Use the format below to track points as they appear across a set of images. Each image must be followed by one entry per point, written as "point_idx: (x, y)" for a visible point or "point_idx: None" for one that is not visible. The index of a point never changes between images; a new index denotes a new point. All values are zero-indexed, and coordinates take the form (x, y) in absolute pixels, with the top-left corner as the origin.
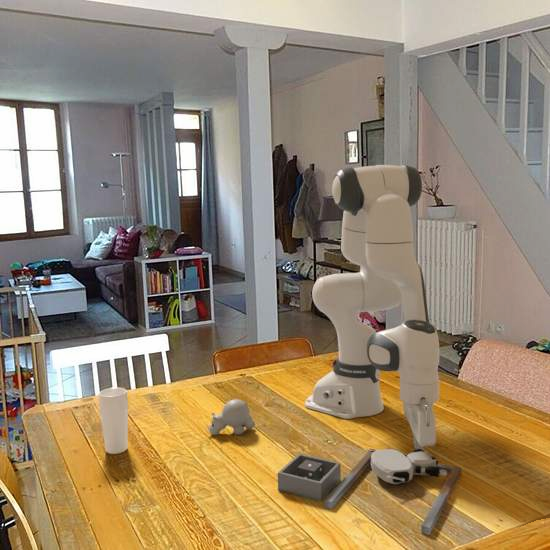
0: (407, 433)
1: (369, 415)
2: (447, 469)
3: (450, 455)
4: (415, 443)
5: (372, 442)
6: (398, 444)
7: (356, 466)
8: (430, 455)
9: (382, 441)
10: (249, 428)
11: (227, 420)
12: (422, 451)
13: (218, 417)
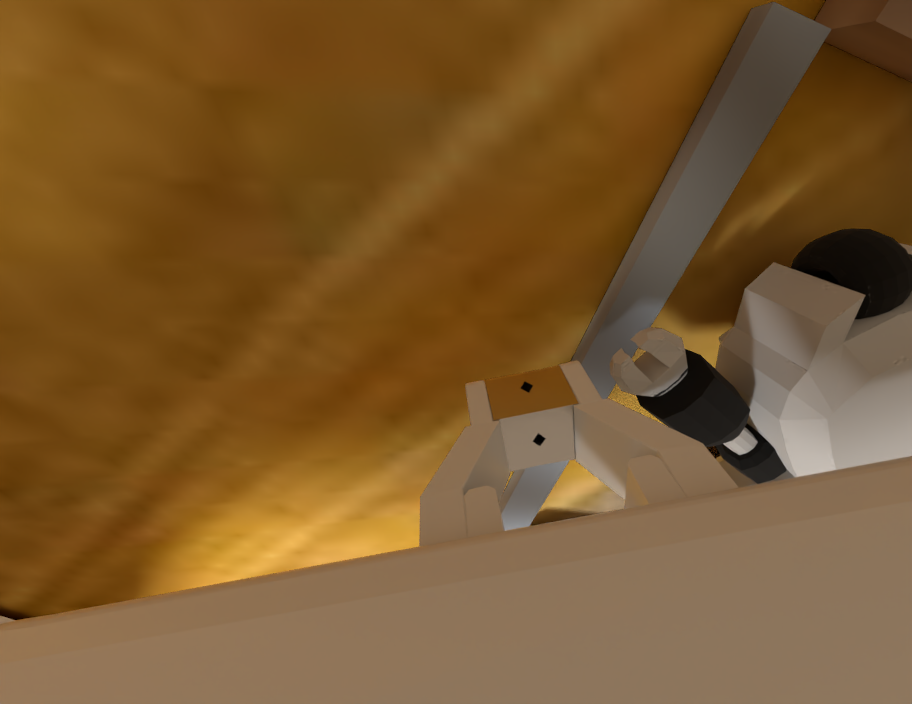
0: (115, 436)
1: (8, 620)
2: (775, 111)
3: (419, 57)
4: (573, 450)
5: (361, 556)
6: (337, 463)
7: None
8: (849, 321)
9: (329, 527)
10: None
11: None
12: (721, 386)
13: None
